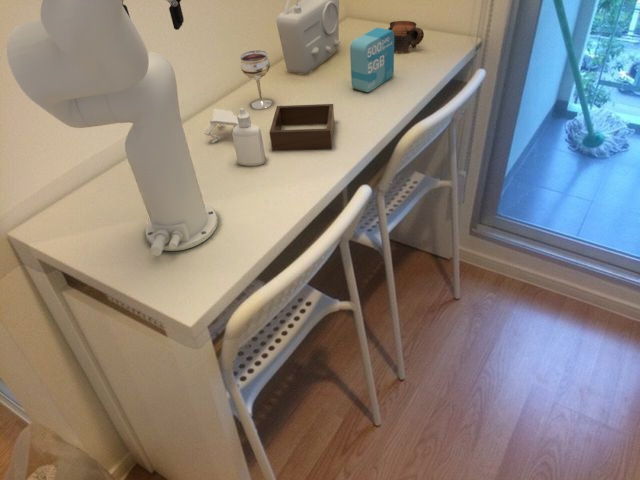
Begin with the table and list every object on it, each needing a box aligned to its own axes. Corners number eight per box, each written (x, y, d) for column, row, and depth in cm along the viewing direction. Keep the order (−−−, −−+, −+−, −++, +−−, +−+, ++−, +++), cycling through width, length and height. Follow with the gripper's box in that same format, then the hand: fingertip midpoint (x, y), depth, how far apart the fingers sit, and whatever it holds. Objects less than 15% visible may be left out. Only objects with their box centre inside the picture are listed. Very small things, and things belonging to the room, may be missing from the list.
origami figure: (196, 140, 118) (191, 120, 115) (222, 123, 123) (217, 104, 120) (237, 153, 113) (232, 133, 109) (262, 135, 117) (258, 115, 114)
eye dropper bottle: (255, 170, 107) (245, 116, 99) (235, 163, 110) (223, 110, 102) (269, 160, 110) (260, 107, 102) (248, 153, 112) (238, 101, 104)
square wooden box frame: (331, 149, 111) (330, 130, 108) (272, 151, 112) (269, 132, 109) (334, 122, 120) (333, 103, 117) (279, 124, 121) (276, 105, 118)
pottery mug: (378, 52, 148) (380, 21, 147) (397, 57, 155) (399, 27, 154) (414, 49, 140) (416, 16, 139) (433, 54, 147) (436, 23, 146)
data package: (366, 94, 129) (364, 45, 121) (351, 90, 131) (349, 41, 123) (394, 76, 135) (394, 28, 127) (379, 72, 138) (379, 25, 130)
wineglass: (278, 107, 127) (271, 58, 119) (250, 113, 126) (242, 64, 118) (272, 95, 132) (265, 47, 124) (245, 101, 131) (236, 53, 123)
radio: (308, 80, 137) (297, -24, 121) (281, 75, 141) (268, -27, 125) (347, 48, 151) (343, -49, 135) (322, 45, 155) (315, -50, 138)
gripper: (63, -69, 85) (100, 38, 96) (168, -77, 83) (193, 33, 94) (82, -79, 90) (115, 24, 101) (181, -87, 88) (203, 19, 100)
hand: (153, 28), depth 98 cm, fingers open, 9 cm apart
